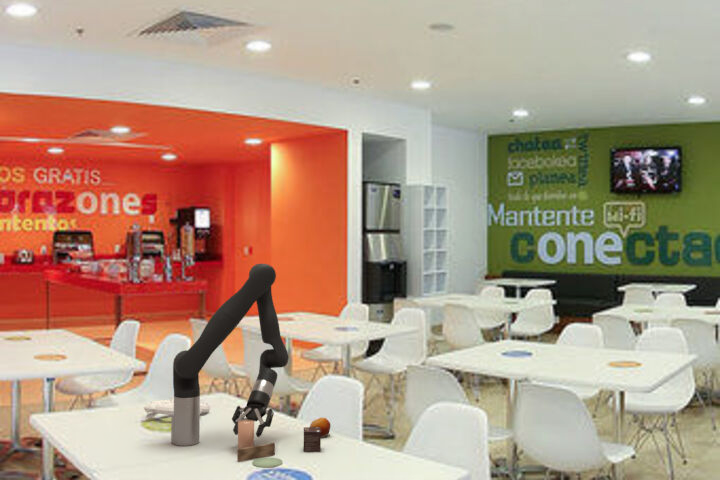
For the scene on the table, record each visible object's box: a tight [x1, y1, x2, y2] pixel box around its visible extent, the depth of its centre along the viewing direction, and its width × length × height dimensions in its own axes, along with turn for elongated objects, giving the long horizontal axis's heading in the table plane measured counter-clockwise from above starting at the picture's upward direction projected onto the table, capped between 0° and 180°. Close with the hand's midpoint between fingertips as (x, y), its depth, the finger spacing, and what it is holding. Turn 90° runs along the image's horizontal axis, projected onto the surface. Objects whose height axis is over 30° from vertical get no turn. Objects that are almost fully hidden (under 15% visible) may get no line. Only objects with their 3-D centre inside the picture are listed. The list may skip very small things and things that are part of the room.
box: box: [303, 426, 322, 453], centre depth 276 cm, size 6×6×7 cm
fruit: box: [309, 417, 331, 438], centre depth 294 cm, size 8×8×8 cm
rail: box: [236, 442, 276, 463], centre depth 265 cm, size 14×1×4 cm, turn 128°
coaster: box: [251, 456, 283, 469], centre depth 260 cm, size 10×10×1 cm
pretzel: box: [143, 397, 211, 416], centre depth 324 cm, size 28×24×6 cm
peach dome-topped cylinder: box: [237, 420, 255, 449], centre depth 271 cm, size 6×6×11 cm
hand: (246, 434), depth 271 cm, fingers open, 8 cm apart
